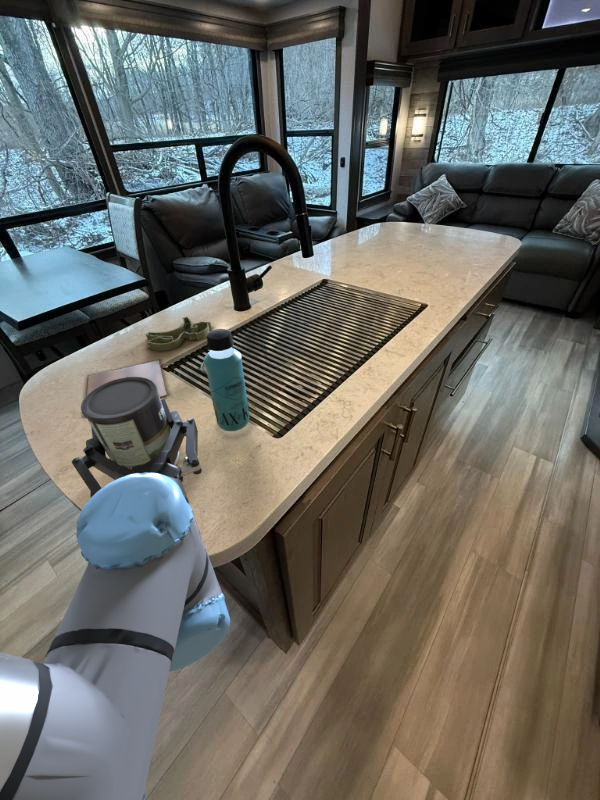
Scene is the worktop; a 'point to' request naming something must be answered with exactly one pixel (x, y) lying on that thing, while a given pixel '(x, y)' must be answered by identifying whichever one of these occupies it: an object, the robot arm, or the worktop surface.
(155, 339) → the cookie cutter
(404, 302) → the worktop surface
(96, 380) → the cork mat
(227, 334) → the beverage bottle
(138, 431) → the coffee can
